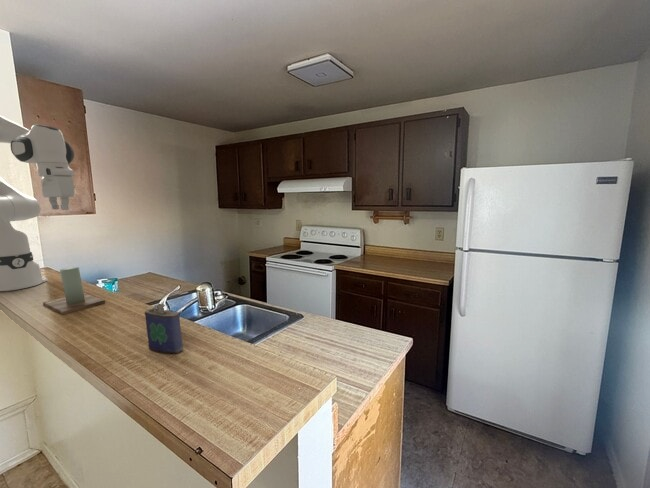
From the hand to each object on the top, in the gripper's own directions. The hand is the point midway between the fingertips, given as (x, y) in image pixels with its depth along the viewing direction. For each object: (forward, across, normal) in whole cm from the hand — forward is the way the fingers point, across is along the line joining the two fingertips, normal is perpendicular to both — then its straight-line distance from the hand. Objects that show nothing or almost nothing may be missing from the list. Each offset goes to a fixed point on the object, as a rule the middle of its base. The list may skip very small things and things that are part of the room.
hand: (60, 209), depth 115 cm
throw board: (+33, +14, -5) cm, 36 cm away
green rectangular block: (+32, +16, -5) cm, 36 cm away
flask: (+32, +75, -7) cm, 82 cm away
